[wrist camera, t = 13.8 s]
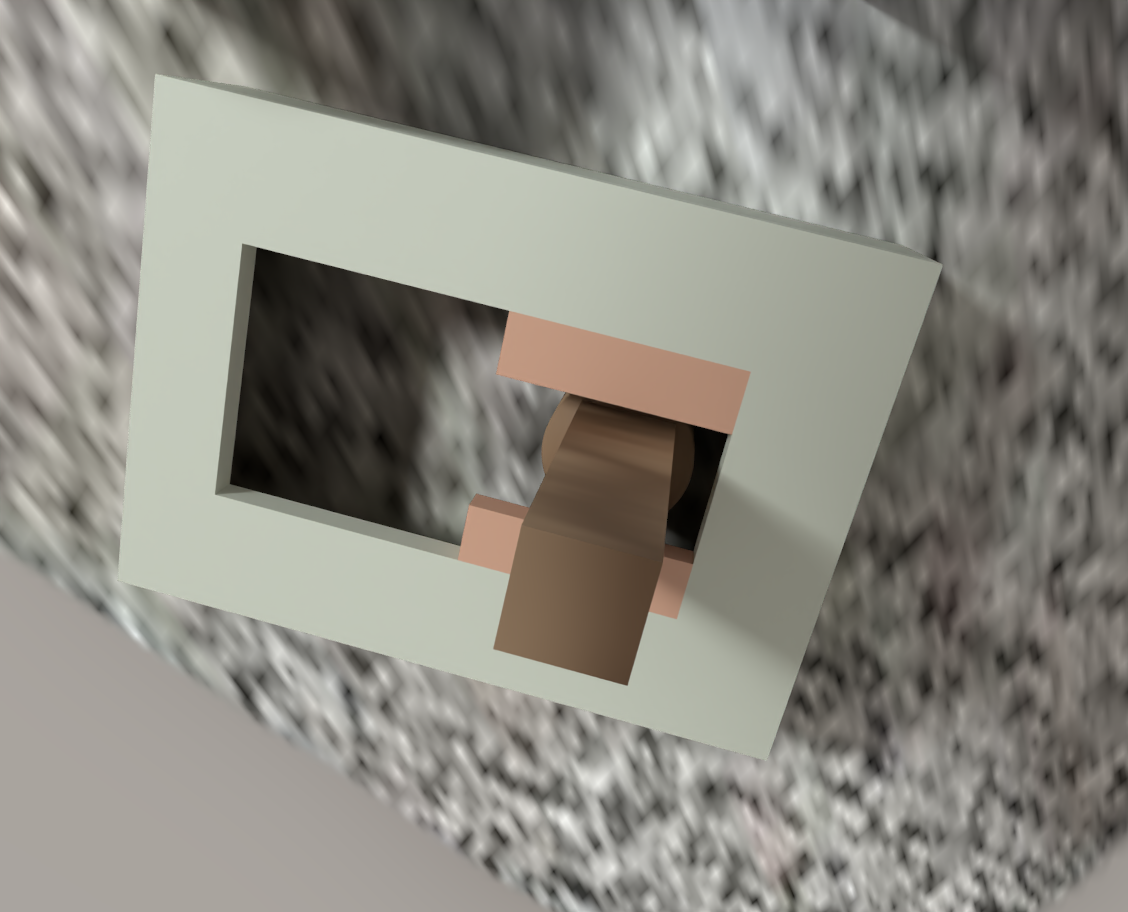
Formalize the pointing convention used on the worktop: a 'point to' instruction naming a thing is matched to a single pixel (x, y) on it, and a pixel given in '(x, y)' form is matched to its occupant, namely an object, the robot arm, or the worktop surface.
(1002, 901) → the worktop surface
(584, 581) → the bolt peg
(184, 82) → the keyhole box
